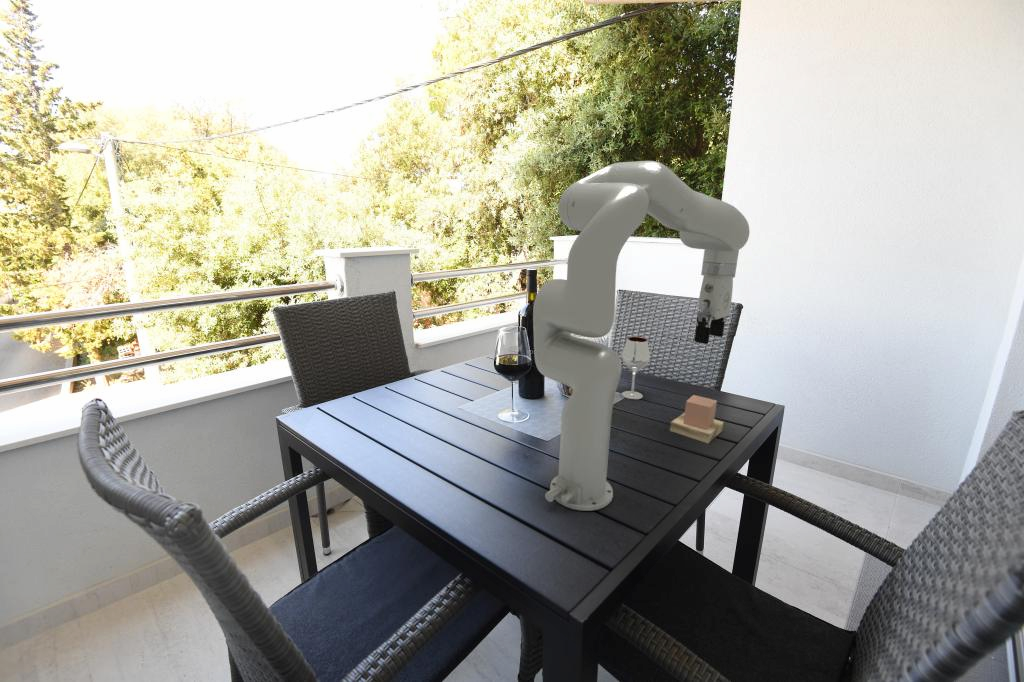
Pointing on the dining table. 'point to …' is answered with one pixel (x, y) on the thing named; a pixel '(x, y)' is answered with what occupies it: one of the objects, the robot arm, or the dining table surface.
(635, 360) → the wineglass
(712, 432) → the oak block
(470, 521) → the dining table surface
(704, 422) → the painted cube
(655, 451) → the dining table surface
